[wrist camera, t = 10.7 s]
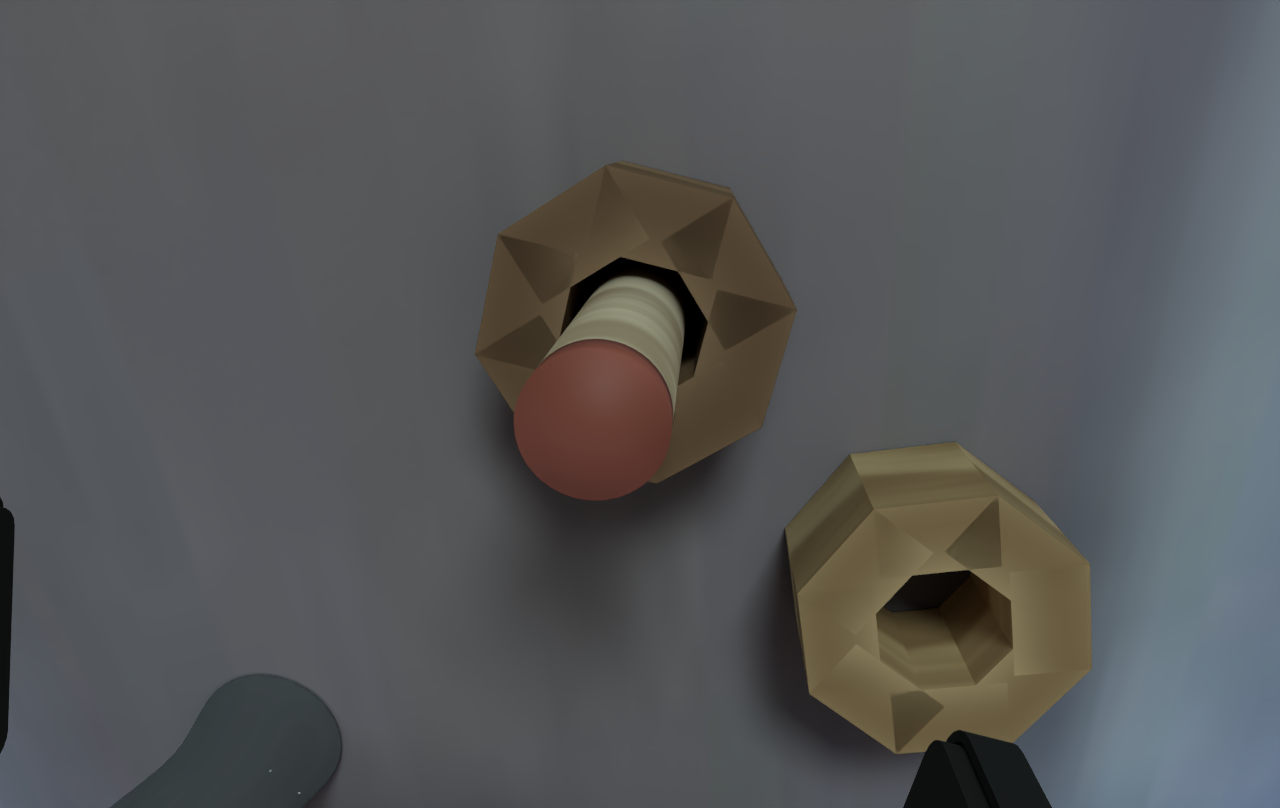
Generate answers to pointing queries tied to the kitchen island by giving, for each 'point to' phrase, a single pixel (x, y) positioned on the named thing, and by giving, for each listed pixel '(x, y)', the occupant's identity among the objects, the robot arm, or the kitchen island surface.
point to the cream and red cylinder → (607, 387)
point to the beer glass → (248, 751)
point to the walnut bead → (662, 236)
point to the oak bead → (962, 626)
